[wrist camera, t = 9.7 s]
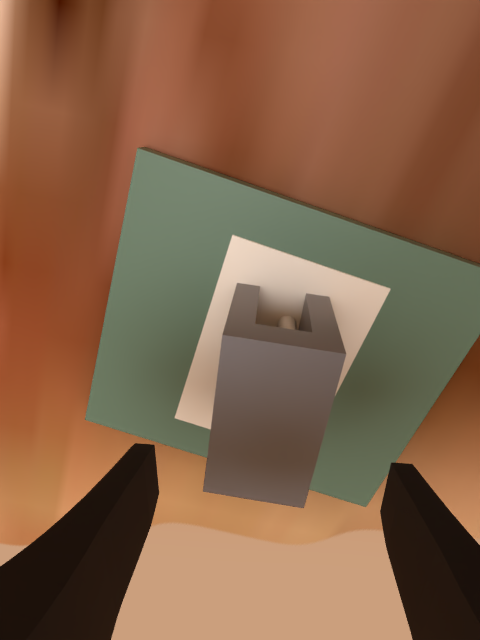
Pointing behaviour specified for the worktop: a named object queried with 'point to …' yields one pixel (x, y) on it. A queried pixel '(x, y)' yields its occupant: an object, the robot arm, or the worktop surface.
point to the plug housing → (272, 401)
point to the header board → (274, 315)
